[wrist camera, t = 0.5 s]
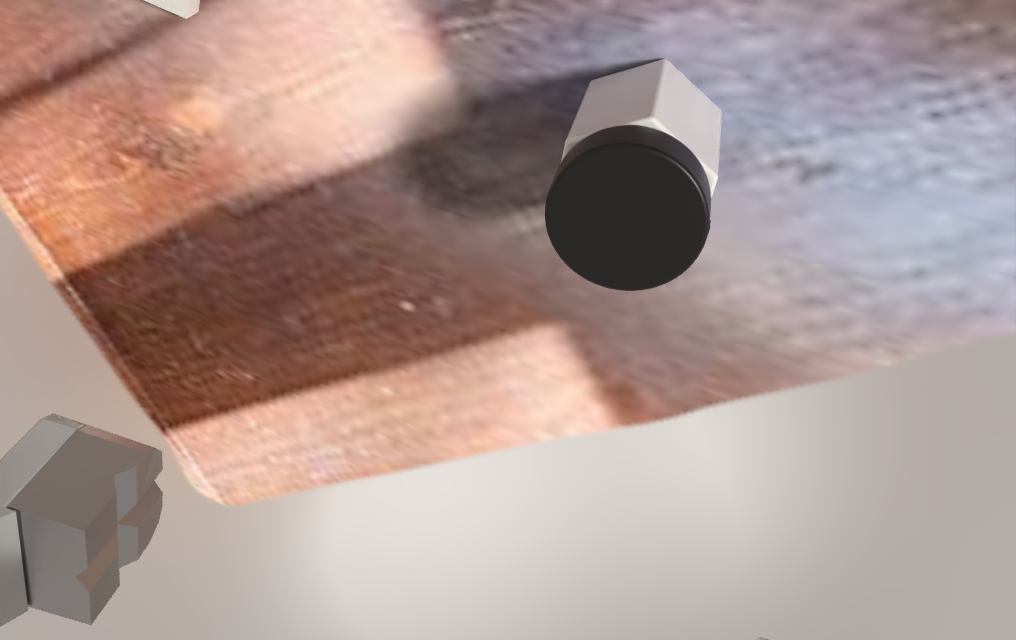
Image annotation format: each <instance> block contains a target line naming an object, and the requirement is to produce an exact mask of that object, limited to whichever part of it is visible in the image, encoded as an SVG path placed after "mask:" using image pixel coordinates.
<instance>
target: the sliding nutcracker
mask: <svg viewBox="0 0 1016 640" xmlns="http://www.w3.org/2000/svg"><path fill="white" fill-rule="evenodd" d="M144 1H146V2H149V3H151V4H153V5H156V6H158V7H160V8H163V9H165V10H167V11H170V12H172V13H174V14H176V15H179V16H181V17H183V18H186V19H187V18H189V17H190V16H192V15H194V14H196V13H197V12H198V10H199V4H200V0H144Z"/></svg>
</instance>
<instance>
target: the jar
mask: <svg viewBox="0 0 1016 640" xmlns="http://www.w3.org/2000/svg"><path fill="white" fill-rule="evenodd" d="M721 119H722V112H721V110H720V109H719V108H718V107H717V106H716V105H715V104H714V103H713V102H712V101H711V100H710V99H708V98H707V97H706V96H705V95H704V94H703V93H702V92H701V91H700V90H699V89H698V88H697V87H696V86H695V85H694V84H692V83H691V82H690V81H689V80H688V79H687V78H686V77H685V76H684V75H683V74H682V73H681V72H680V71H679V70H678V69H676V68H675V67H674V66H673V65H672V64H671V63H670V62H669V61H668V60H666V59H662V60H658V61H655V62H652V63H648V64H645V65H642V66H638V67H635V68H631V69H628V70H625V71H621V72H618V73H614V74H611V75H608V76H604V77H601V78H597V79H594V80H592V81H590V83H589V85H588V88H587V90H586V92H585V95H584V97H583V100H582V102H581V105H580V107H579V110H578V112H577V114H576V117H575V119H574V122H573V124H572V127H571V129H570V131H569V134H568V136H567V139H566V141H565V145H564V150H563V154H562V159H561V164H560V166H559V168H558V170H557V172H556V175H555V177H554V180H553V182H552V185H551V187H550V190H549V193H548V196H547V200H546V206H545V221H546V228H547V232H548V235H549V238H550V241H551V243H552V245H553V247H554V249H555V251H556V252H557V254H558V255H559V256H560V258H561V259H562V260H563V261H564V263H565V264H566V265H567V266H568V267H569V268H571V269H572V270H573V271H574V272H575V273H577V274H578V275H580V276H581V277H583V278H585V279H586V280H588V281H590V282H592V283H595V284H597V285H600V286H603V287H606V288H610V289H615V290H624V291H636V290H645V289H650V288H654V287H657V286H660V285H663V284H665V283H667V282H670V281H671V280H673V279H675V278H677V277H678V276H679V275H681V274H682V273H683V272H685V271H686V270H687V269H688V268H689V267H690V266H691V265H692V264H693V263H694V261H695V260H696V259H697V257H698V256H699V254H700V253H701V251H702V249H703V247H704V245H705V242H706V239H707V236H708V233H709V230H710V222H711V220H710V210H711V198H712V195H713V192H714V189H715V185H716V182H717V179H718V167H719V151H720V135H721Z"/></svg>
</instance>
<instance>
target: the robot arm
mask: <svg viewBox="0 0 1016 640" xmlns="http://www.w3.org/2000/svg"><path fill="white" fill-rule="evenodd" d="M162 469H163V467H162V451H160V450H158V449H156V448H154V447H151V446H148V445H145V444H142V443H139V442H136V441H133V440H131V439H128V438H125V437H122V436H119V435H116V434H113V433H110V432H107V431H104V430H101V429H99V428H95V427H93V426H90V425H85V424H83V423H80V422H77V421H74V420H71V419H68V418H65V417H62V416H59V415H56V414H51V415H49V416H47V417H45V418H43V419H41V420H39V422H37V423H36V424H35V425H34V427H33V428H31V429H30V430H29V432H27V434H26V435H25V436H24V437H23V438H22V439H21V440H20V441H19V442H18V443H17V444H16V445H15V446H14V447H13V448H12V449H11V450H10V451H9V452H8V453H7V454H6V455H5V456H4V457H3V458H2V459H1V460H0V626H2V625H4V624H6V623H7V622H9V621H11V620H13V619H15V618H16V617H18V616H20V615H21V614H23V613H25V612H27V611H28V607H31V608H35V609H39V610H42V611H45V612H49V613H52V614H56V615H59V616H62V617H65V618H69V619H72V620H75V621H79V622H82V623H86V624H89V625H92V623H93V622H94V620H95V619H96V618H97V616H98V615H99V613H100V612H101V611H102V609H103V608H104V607H105V605H106V604H107V602H108V601H109V600H110V598H111V597H112V595H113V594H114V593H115V591H116V590H117V588H118V587H119V585H120V583H119V582H120V580H119V568H121V567H123V566H125V565H127V564H129V563H131V562H134V561H136V560H138V559H139V557H140V556H141V554H142V553H143V551H144V550H145V549H146V547H147V546H148V544H149V542H150V540H151V538H152V536H153V534H154V532H155V529H156V527H157V524H158V523H159V519H160V514H161V510H162V496H163V493H162V491H161V490H160V488H159V487H158V486H157V484H156V483H155V481H154V480H155V479H156V477H157V476H158V475H159V473H160V472H161V471H162ZM757 640H768V639H765V638H761V637H760V638H758V639H757Z"/></svg>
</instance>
